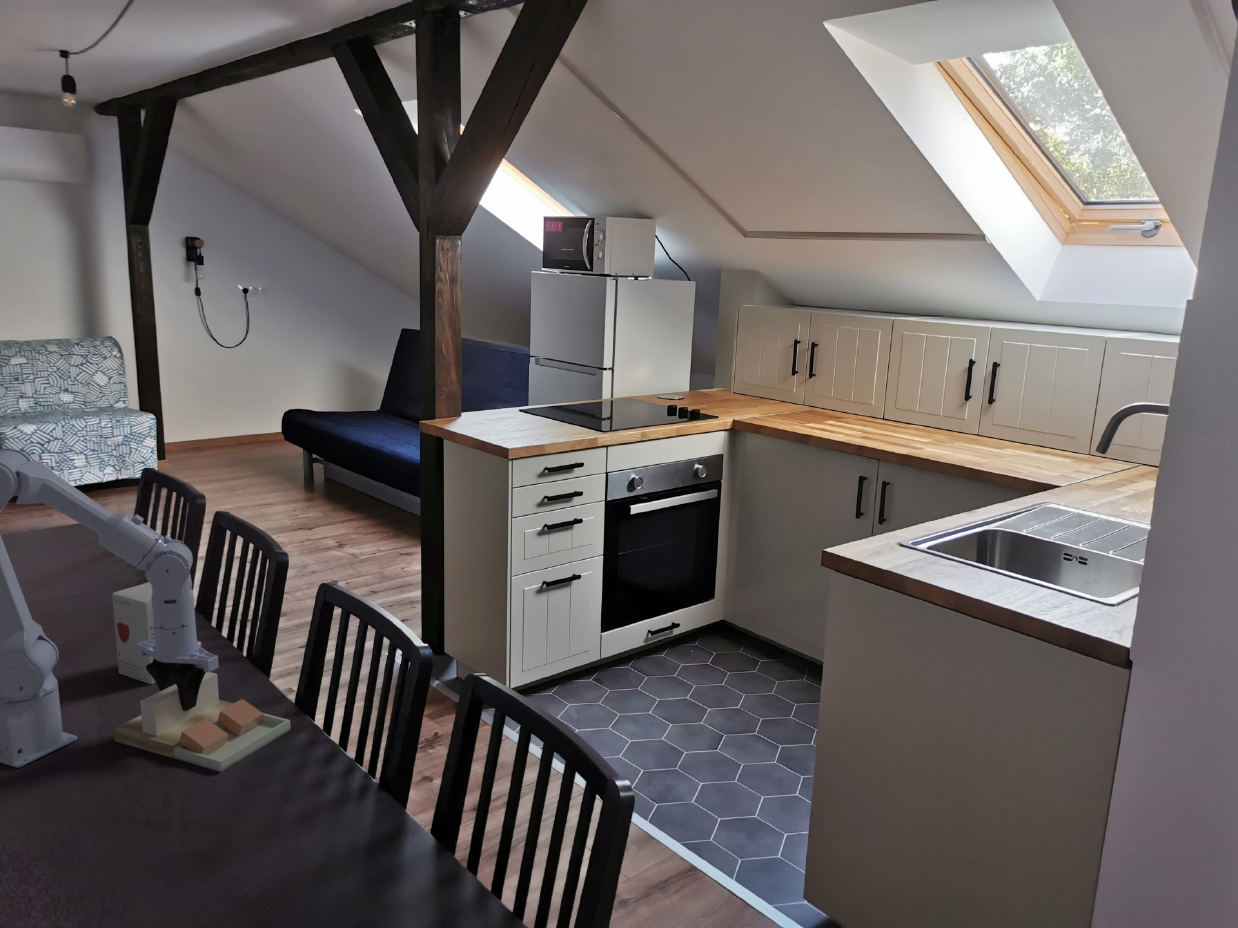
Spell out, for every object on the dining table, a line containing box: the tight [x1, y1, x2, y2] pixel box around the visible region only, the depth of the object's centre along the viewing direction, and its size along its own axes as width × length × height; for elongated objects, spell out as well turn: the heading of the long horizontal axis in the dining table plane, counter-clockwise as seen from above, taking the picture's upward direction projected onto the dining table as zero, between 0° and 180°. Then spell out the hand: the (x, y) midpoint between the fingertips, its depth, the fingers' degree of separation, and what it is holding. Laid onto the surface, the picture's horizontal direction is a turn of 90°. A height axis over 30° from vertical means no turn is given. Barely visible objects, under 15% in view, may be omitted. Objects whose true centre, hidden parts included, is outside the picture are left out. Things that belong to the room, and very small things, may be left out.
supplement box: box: [111, 581, 156, 685], centre depth 165 cm, size 9×9×15 cm
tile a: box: [179, 719, 228, 755], centre depth 139 cm, size 4×4×2 cm
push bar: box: [139, 671, 220, 736], centre depth 145 cm, size 12×3×5 cm, turn 157°
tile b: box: [218, 698, 265, 736], centre depth 145 cm, size 4×4×2 cm
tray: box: [173, 712, 292, 773], centre depth 141 cm, size 14×9×2 cm, turn 157°
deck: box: [113, 699, 235, 759], centre depth 145 cm, size 14×12×2 cm
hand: (181, 705), depth 145 cm, fingers closed on push bar, 3 cm apart
